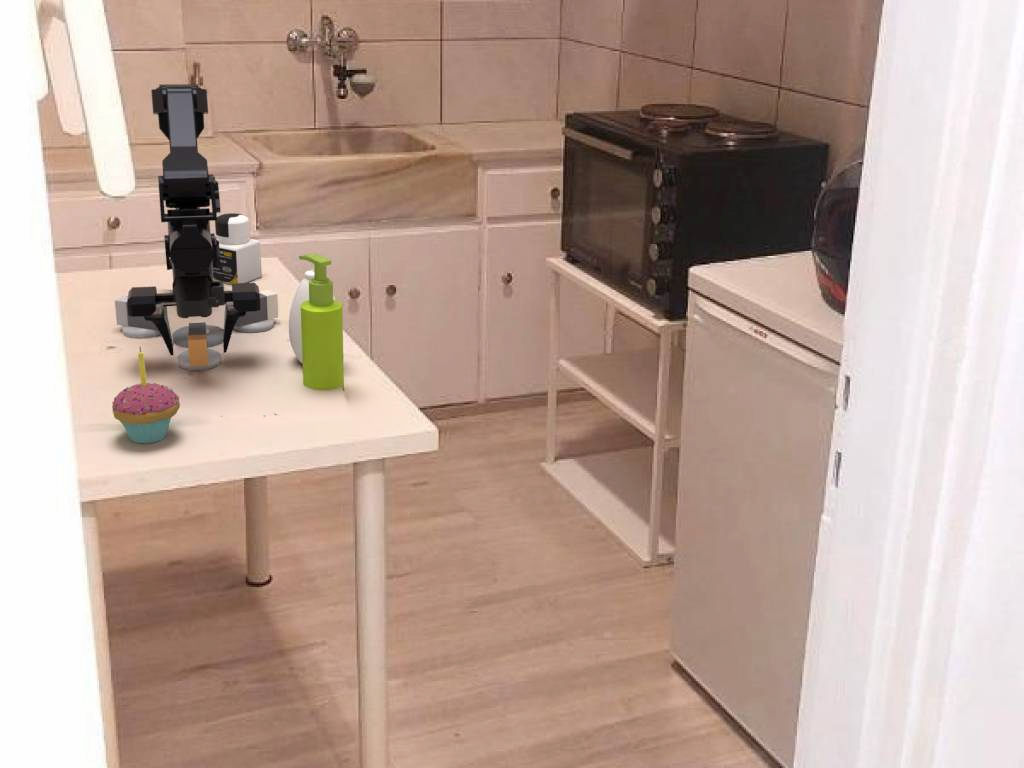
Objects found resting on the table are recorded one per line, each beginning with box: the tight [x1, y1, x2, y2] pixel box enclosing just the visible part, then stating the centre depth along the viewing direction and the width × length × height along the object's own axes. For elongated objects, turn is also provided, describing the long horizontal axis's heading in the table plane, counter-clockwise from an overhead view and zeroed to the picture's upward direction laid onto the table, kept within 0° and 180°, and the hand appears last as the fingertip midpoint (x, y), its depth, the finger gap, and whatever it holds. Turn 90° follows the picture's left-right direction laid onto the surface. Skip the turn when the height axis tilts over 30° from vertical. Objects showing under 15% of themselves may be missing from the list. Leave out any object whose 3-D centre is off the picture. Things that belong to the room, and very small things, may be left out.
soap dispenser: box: [298, 253, 345, 392], centre depth 169 cm, size 6×7×20 cm
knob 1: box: [176, 321, 222, 371], centre depth 176 cm, size 8×6×5 cm
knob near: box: [114, 295, 168, 339], centre depth 188 cm, size 8×6×5 cm
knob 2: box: [234, 289, 279, 334], centre depth 192 cm, size 8×6×5 cm
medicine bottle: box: [213, 212, 263, 286], centre depth 217 cm, size 7×7×12 cm
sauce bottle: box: [288, 262, 336, 364], centre depth 177 cm, size 8×8×18 cm
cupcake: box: [111, 345, 181, 444], centre depth 154 cm, size 9×8×12 cm
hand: (198, 353), depth 177 cm, fingers open, 7 cm apart
